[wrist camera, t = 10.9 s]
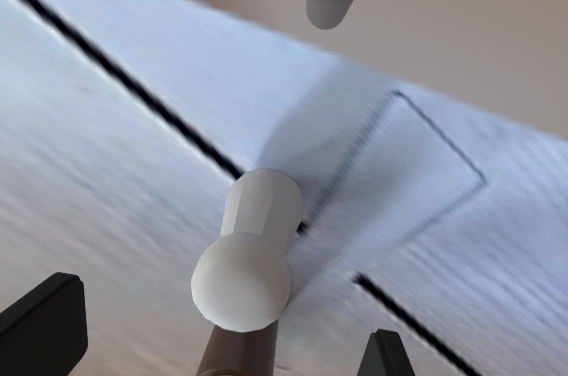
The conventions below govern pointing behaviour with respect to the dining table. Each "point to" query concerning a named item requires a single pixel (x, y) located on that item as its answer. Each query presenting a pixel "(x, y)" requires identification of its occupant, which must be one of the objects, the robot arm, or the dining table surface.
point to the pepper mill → (240, 352)
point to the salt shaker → (250, 253)
